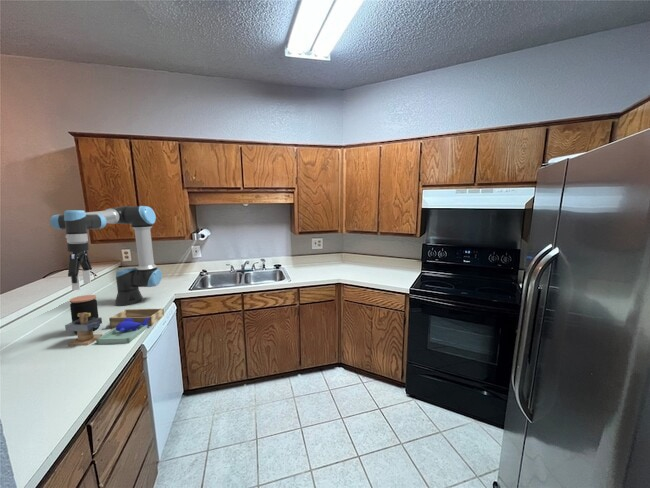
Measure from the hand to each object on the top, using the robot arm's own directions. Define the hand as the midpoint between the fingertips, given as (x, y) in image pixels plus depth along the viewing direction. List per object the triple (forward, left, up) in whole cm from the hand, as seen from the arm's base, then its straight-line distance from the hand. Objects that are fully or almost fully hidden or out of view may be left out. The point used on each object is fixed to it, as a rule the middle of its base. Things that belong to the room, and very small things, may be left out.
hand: (82, 286), depth 133 cm
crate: (-19, +13, -27) cm, 35 cm away
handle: (+1, 0, -27) cm, 27 cm away
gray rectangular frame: (+1, 0, -20) cm, 20 cm away
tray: (-3, +15, -27) cm, 31 cm away
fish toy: (-7, +17, -27) cm, 32 cm away
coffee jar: (-11, -9, -27) cm, 31 cm away
